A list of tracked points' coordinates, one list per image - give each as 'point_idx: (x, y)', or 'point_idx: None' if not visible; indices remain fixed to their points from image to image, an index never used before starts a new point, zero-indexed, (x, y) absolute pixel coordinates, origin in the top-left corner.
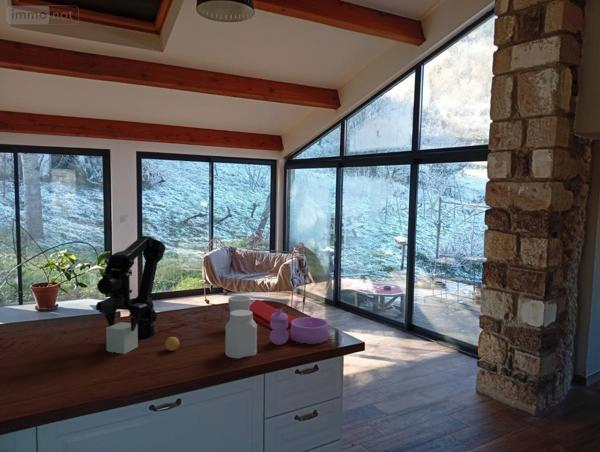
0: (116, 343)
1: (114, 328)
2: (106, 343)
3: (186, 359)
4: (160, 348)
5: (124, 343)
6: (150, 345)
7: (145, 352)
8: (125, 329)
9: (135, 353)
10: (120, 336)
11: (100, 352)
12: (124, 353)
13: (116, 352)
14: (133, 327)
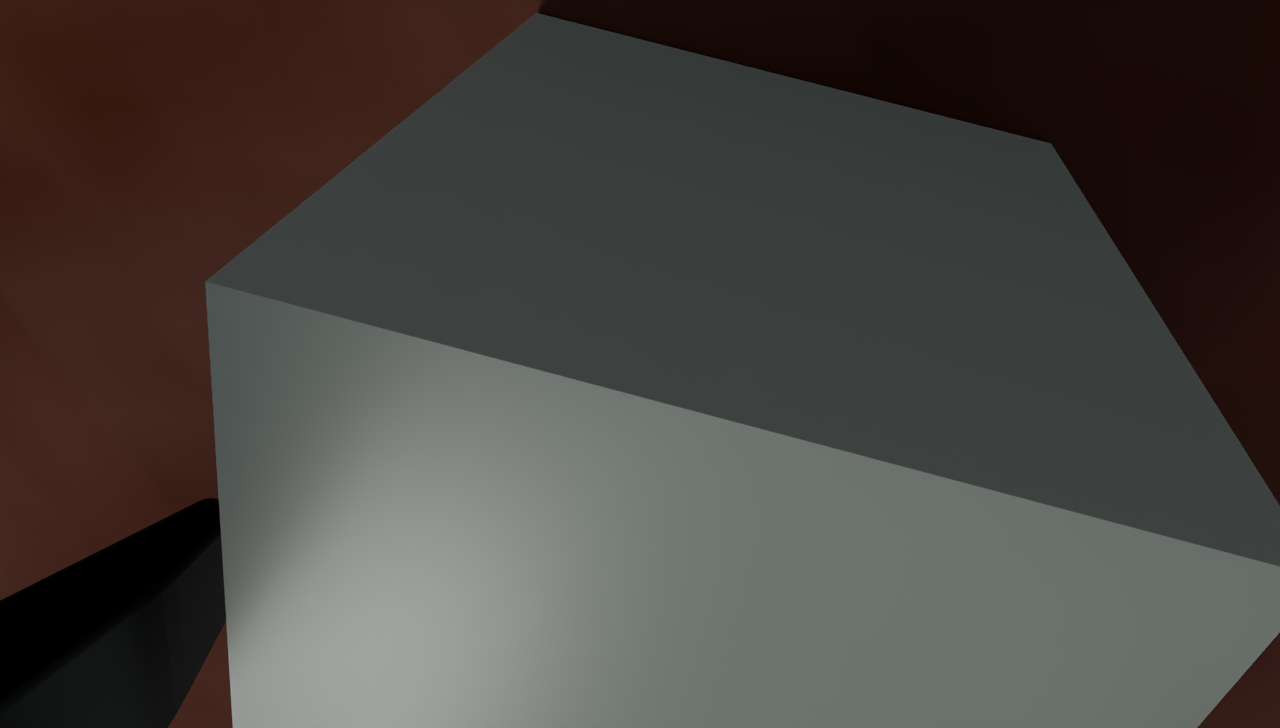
0: (737, 146)
1: (811, 488)
2: (1100, 224)
3: None
4: (51, 363)
5: (450, 99)
6: None
7: (158, 149)
8: (213, 378)
9: (314, 72)
10: (518, 194)
11: (1200, 61)
12: (534, 20)
13: (760, 72)
14: (79, 591)
